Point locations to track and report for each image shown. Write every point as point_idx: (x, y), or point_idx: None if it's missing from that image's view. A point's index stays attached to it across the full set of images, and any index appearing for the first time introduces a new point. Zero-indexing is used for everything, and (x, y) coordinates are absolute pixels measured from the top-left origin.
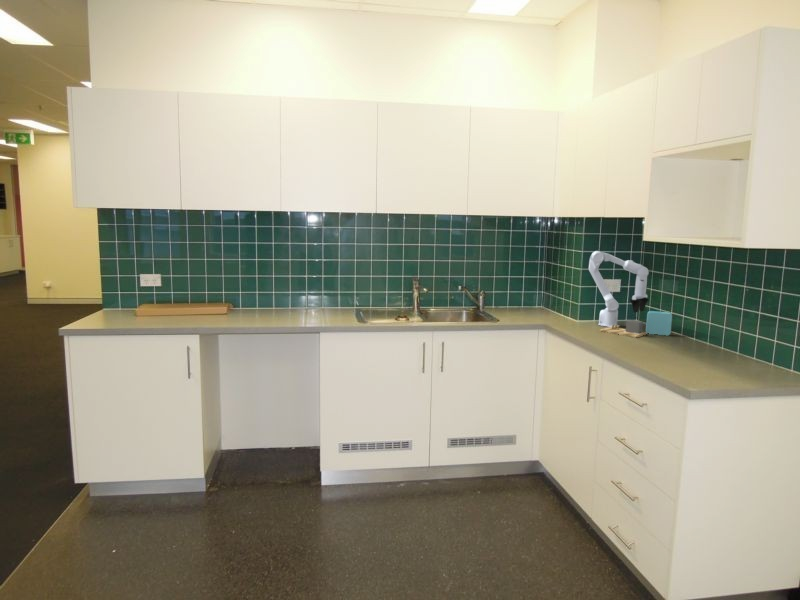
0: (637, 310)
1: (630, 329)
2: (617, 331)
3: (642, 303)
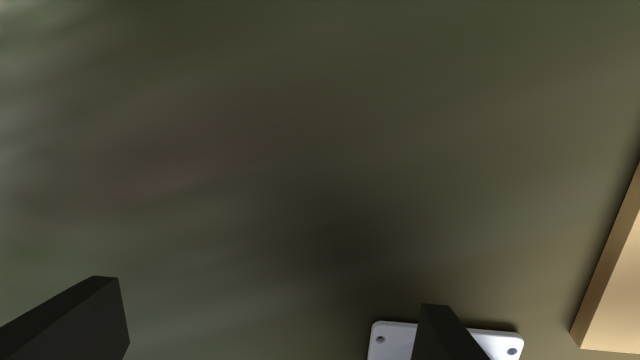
0: (471, 337)
1: None
2: None
3: None
